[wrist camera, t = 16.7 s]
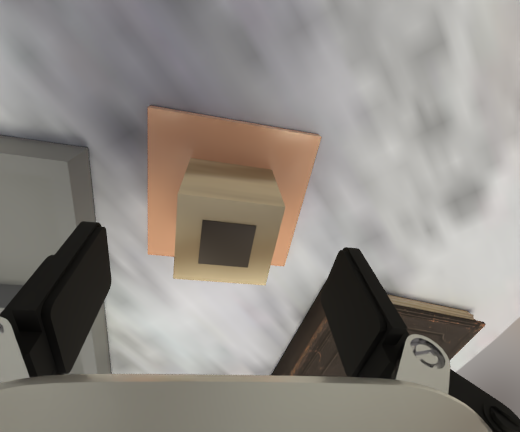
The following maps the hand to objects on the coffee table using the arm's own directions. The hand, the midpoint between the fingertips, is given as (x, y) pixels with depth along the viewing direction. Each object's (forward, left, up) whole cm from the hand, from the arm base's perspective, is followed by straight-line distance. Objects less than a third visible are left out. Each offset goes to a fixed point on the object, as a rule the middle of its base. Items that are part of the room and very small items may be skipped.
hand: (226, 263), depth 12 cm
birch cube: (+1, 0, -8) cm, 8 cm away
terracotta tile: (+1, 0, -8) cm, 8 cm away
